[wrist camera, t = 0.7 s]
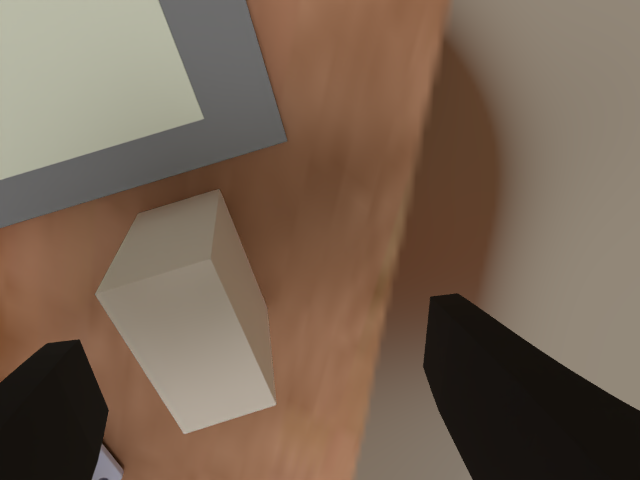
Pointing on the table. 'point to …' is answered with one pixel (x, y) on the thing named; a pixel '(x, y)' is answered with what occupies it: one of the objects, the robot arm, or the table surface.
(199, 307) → the beige rectangular block
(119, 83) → the mat
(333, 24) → the table surface
